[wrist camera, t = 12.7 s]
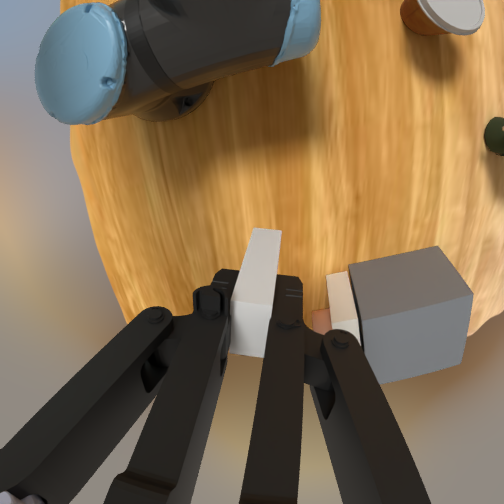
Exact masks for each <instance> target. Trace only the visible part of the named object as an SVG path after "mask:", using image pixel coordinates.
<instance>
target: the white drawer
mask: <svg viewBox="0 0 504 504" xmlns="http://www.w3.org/2000/svg"><path fill="white" fill-rule="evenodd" d="M326 280H327V288H328V297H329V305H330V308H327V309H321V310H316V311H312V322H313V331H315V332H317V333H320V334H323V335H324V334H325V333H326V332H328V331H329V330H333V329H342V330H346V331H349V332H350V333H352V334H353V335H354V336H355V337H356V338H357V340H358V342H359V344H360V335H359V325H358V318H357V313H356V308H355V304H354V299H353V295H352V290H351V286H350V282H349V278H348V273H347V271H345V272H340V273H335V274H329V275H326ZM358 310H359V309H358ZM359 319H360V326H361V331H362V336H363V330H362V322H361V318H360V313H359ZM360 346H361V344H360Z"/></svg>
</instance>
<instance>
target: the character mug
mask: <svg viewBox="0 0 504 504" xmlns="http://www.w3.org/2000/svg"><path fill="white" fill-rule="evenodd" d="M485 139H486V144H487V146H488V148H489V149H490V151H492V152H496V153H500V156H504V118H502V117H494V118H493V119H492V120H490V122H489V124H488V125H487V127H486V132H485ZM496 155H498V154H496Z"/></svg>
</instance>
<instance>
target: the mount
mask: <svg viewBox="0 0 504 504" xmlns="http://www.w3.org/2000/svg"><path fill="white" fill-rule="evenodd" d="M349 271H350V278H351V284H352V291H353V298H354V304H355V308H356V313H357V318H358V325H359V335H360V344H361V348H362V350H363V352H364V354H365V356H366V358H367V360H368V362H369V364H370V366H371V368H372V370H373V372H374V374H375V376H376V378H377V381H378V383H379V384H384V383H389V382H393V381H398V380H402V379H406V378H411V377H414V376H419V375H422V374H426V373H430V372H434V371H437V370H441V369H444V368H448V367H451V366H455V365H458V364H460V363H461V361H462V356H463V351H464V347H465V342H466V337H467V332H468V327H469V321H470V315H471V308H472V302H473V292H472V291H471V290H470V288H469V287H468V285H467V284H466V282H465V281H464V280H463V278H462V277H461V276H460V274H459V273H458V271H457V270H456V269H455V267H454V266H453V265H452V263H451V262H450V261H449V259H448V258H447V257H446V256H445V254H444V253H443V252H442V250H441V249H440V248H439V247H438V246H434V247H429V248H425V249H420V250H416V251H411V252H407V253H402V254H398V255H393V256H388V257H384V258H379V259H374V260H369V261H364V262H360V263H355V264H350V265H349ZM358 309H359V310H358ZM359 313H360V318H361V322H362V330H363V336H362V331H361V326H360V319H359Z"/></svg>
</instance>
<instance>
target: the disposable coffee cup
mask: <svg viewBox="0 0 504 504" xmlns="http://www.w3.org/2000/svg"><path fill="white" fill-rule="evenodd" d="M400 14H401V17H402V20H403V21H404V23H405V24H406V26H407V27H408V28H409V29H410V30H412V31H413V32H415V33H417V34H420V35H436V34H448V33H452V34H456V35H470V34H473V33H475V32H476V31H477V30H478V29H479V28H480V26H481V24H482V22H483V20H484V17H485V7H484V3H483V0H404V2H403V3H402V5H401V8H400Z"/></svg>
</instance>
